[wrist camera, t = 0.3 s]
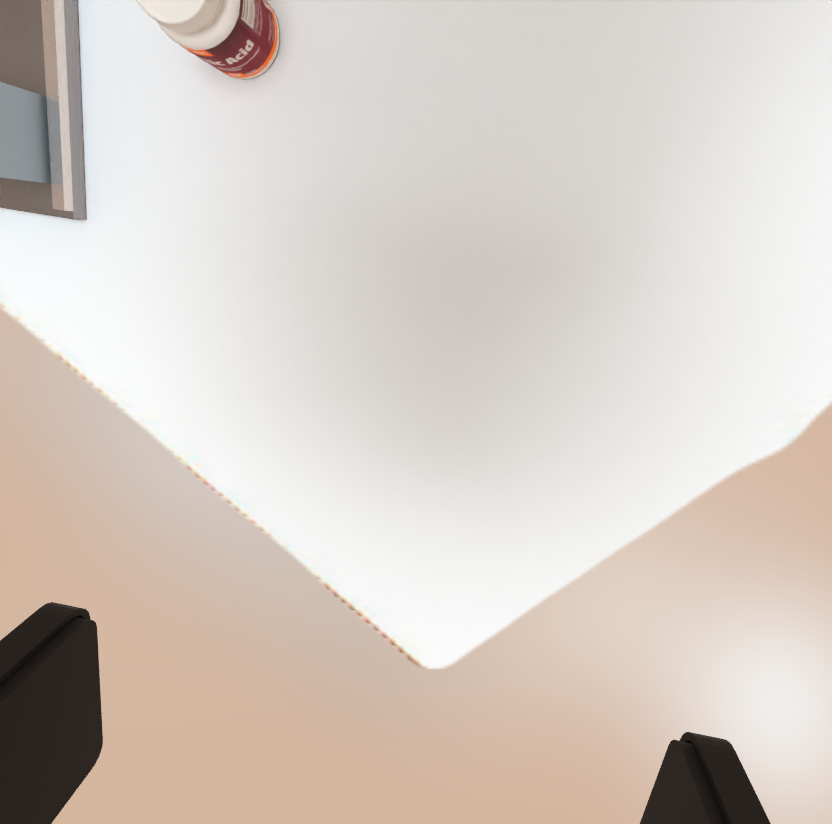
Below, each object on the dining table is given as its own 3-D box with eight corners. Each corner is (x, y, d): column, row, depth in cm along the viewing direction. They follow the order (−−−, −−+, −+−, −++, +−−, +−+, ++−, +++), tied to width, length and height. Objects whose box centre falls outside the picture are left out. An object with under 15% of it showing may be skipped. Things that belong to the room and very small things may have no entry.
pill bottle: (216, 87, 34) (134, 42, 26) (197, -3, 33) (104, -79, 25) (289, 73, 33) (227, 22, 26) (273, -19, 32) (203, -104, 24)
